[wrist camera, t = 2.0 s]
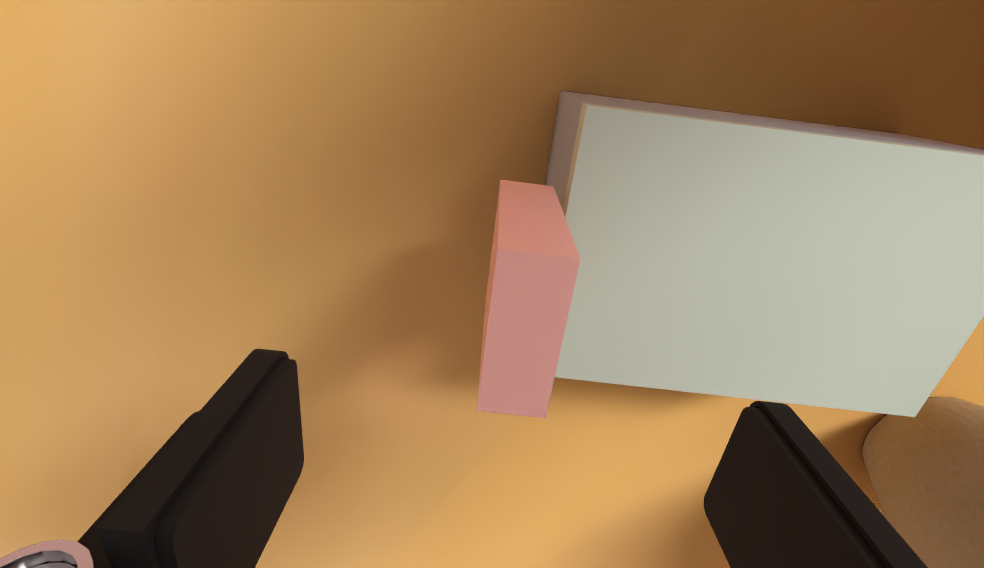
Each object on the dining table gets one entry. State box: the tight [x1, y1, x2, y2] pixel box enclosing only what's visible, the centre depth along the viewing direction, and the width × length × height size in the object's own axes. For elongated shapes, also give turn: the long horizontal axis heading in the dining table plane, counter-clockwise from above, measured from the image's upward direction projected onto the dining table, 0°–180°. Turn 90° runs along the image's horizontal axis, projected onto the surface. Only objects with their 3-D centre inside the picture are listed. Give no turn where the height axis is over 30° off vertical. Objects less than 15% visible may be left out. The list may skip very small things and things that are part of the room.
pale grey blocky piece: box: [477, 103, 984, 418], centre depth 16 cm, size 11×20×8 cm, turn 83°
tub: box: [545, 91, 984, 208], centre depth 22 cm, size 11×17×7 cm, turn 83°
